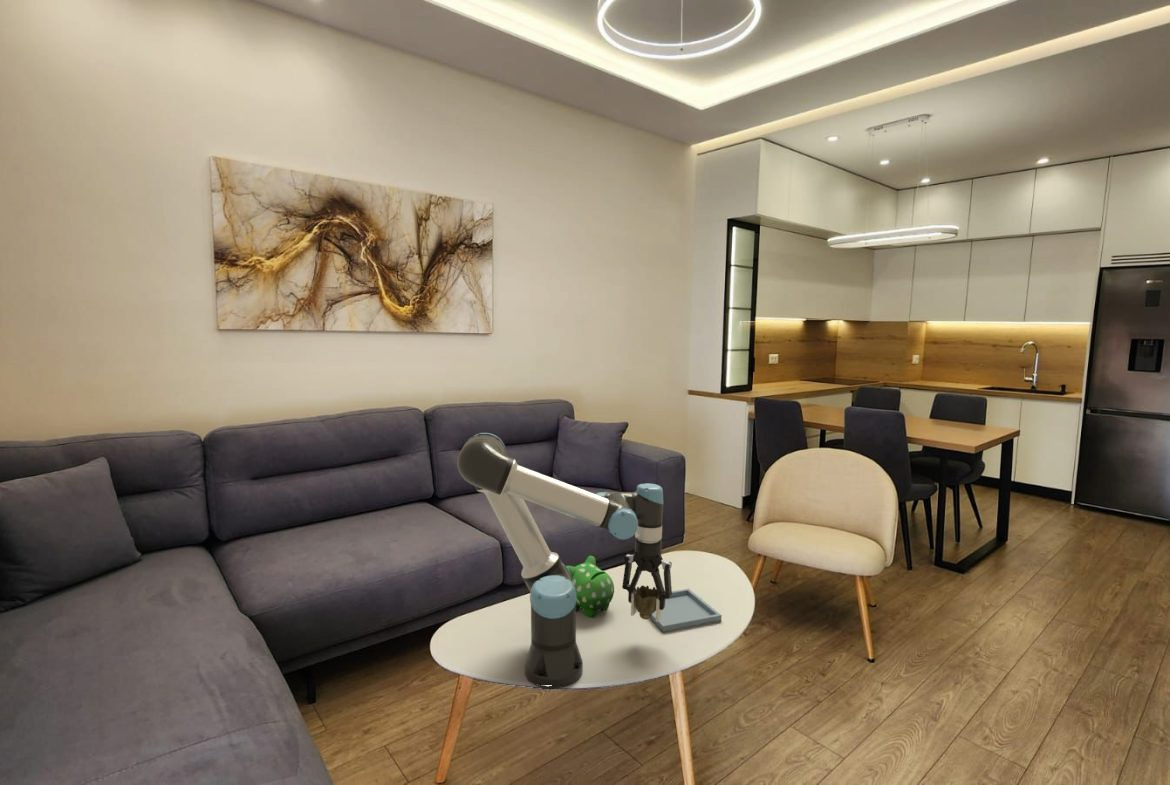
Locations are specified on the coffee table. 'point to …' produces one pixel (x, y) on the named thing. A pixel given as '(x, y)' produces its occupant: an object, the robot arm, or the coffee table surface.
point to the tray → (685, 612)
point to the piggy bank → (591, 587)
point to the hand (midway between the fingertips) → (645, 616)
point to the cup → (645, 601)
